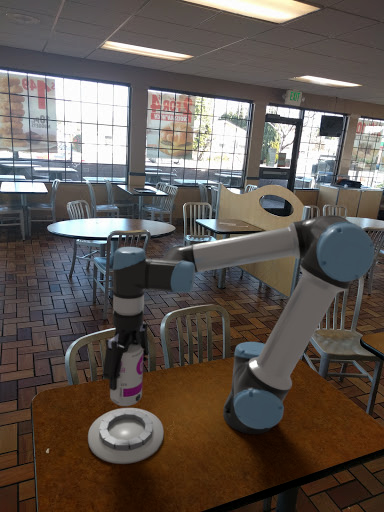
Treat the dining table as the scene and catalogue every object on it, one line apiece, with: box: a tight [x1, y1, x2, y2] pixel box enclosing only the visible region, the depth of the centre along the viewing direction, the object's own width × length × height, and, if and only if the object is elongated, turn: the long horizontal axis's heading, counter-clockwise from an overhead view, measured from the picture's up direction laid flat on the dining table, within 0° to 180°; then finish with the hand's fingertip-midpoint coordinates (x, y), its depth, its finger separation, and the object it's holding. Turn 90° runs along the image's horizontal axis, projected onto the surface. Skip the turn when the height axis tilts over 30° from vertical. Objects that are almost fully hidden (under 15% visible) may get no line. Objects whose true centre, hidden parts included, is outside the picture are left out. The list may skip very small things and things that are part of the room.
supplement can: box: [110, 343, 144, 407], centre depth 101 cm, size 8×8×15 cm
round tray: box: [87, 407, 164, 465], centre depth 105 cm, size 20×20×3 cm
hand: (126, 390), depth 102 cm, fingers closed on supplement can, 8 cm apart
